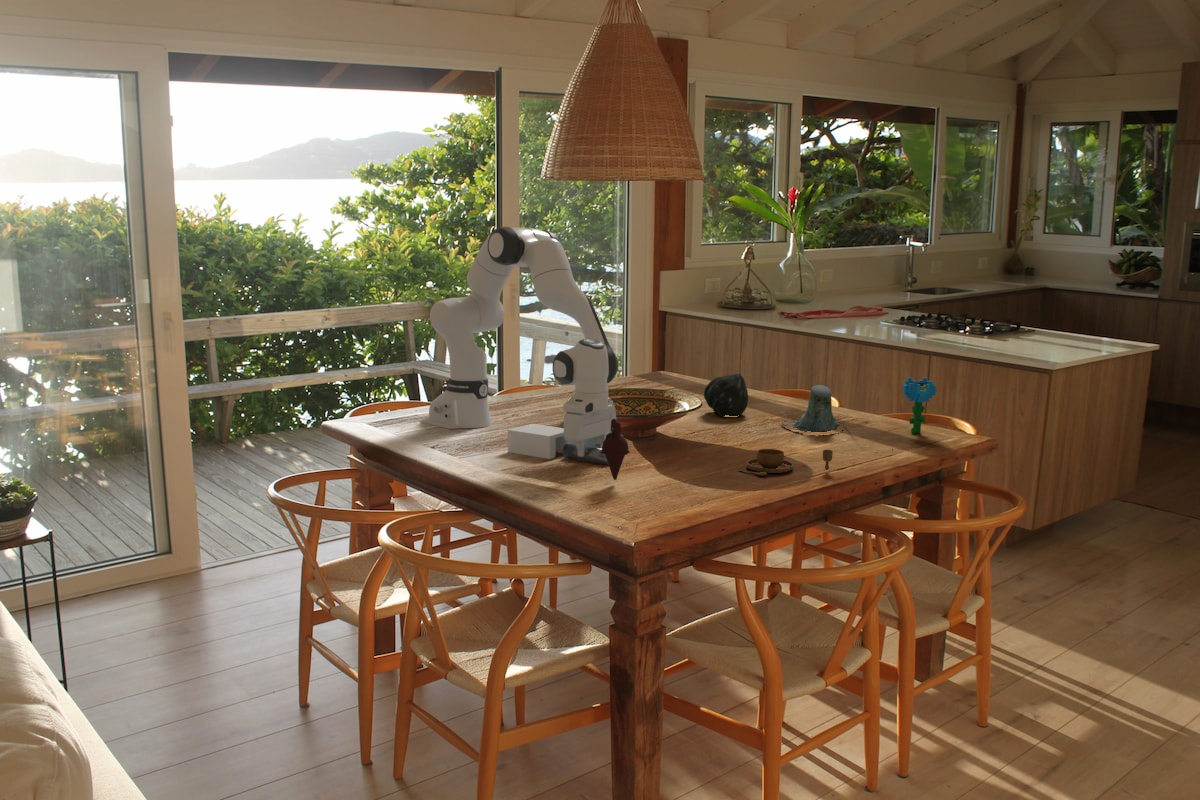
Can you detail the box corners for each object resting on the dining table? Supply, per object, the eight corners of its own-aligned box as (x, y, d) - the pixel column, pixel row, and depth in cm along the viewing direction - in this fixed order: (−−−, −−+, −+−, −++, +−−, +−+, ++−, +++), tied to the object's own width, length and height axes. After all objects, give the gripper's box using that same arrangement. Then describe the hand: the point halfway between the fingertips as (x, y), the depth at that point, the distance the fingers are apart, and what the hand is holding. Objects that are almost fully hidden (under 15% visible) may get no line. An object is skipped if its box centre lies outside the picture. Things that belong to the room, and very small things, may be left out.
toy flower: (927, 436, 309) (931, 377, 306) (935, 443, 300) (939, 382, 297) (897, 436, 310) (900, 376, 307) (904, 442, 301) (908, 381, 298)
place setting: (768, 460, 279) (769, 438, 278) (835, 472, 266) (836, 450, 265) (732, 471, 266) (733, 449, 265) (801, 485, 253) (802, 462, 252)
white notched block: (507, 452, 282) (507, 429, 281) (531, 445, 291) (531, 423, 290) (549, 459, 274) (549, 436, 273) (572, 451, 283) (572, 429, 282)
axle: (564, 461, 276) (560, 449, 274) (572, 452, 279) (568, 440, 277) (608, 468, 269) (605, 456, 267) (616, 459, 271) (612, 447, 269)
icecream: (597, 477, 256) (598, 417, 253) (626, 476, 257) (627, 416, 255) (602, 484, 249) (603, 423, 247) (632, 482, 251) (633, 422, 248)
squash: (740, 414, 340) (742, 369, 338) (753, 423, 326) (755, 376, 323) (698, 415, 339) (699, 370, 336) (709, 424, 324) (710, 377, 321)
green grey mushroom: (832, 421, 326) (846, 374, 316) (846, 459, 309) (860, 410, 300) (775, 417, 325) (787, 369, 315) (785, 455, 308) (798, 405, 298)
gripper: (602, 395, 281) (602, 444, 284) (559, 406, 264) (559, 458, 267) (622, 397, 278) (621, 447, 280) (579, 408, 261) (579, 461, 263)
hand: (590, 453), depth 273 cm, fingers open, 7 cm apart
